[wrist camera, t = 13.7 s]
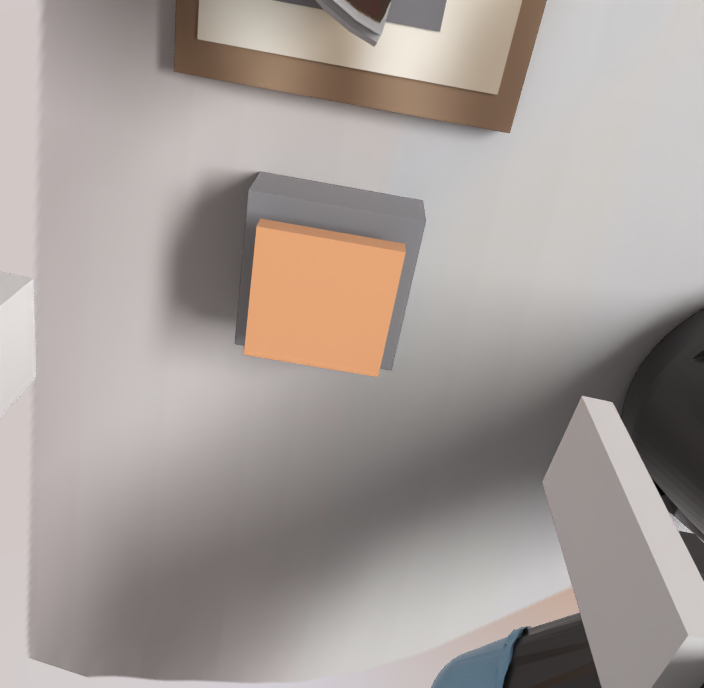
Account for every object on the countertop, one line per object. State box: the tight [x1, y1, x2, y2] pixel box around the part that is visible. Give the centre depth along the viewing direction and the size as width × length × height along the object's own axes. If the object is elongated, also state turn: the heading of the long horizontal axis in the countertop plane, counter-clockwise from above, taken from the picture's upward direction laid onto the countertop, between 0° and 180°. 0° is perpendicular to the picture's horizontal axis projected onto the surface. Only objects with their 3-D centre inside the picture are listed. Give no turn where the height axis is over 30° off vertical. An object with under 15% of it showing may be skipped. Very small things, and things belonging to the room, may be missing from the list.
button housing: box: [235, 172, 426, 370], centre depth 33 cm, size 8×8×3 cm
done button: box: [244, 219, 406, 377], centre depth 31 cm, size 6×6×4 cm
